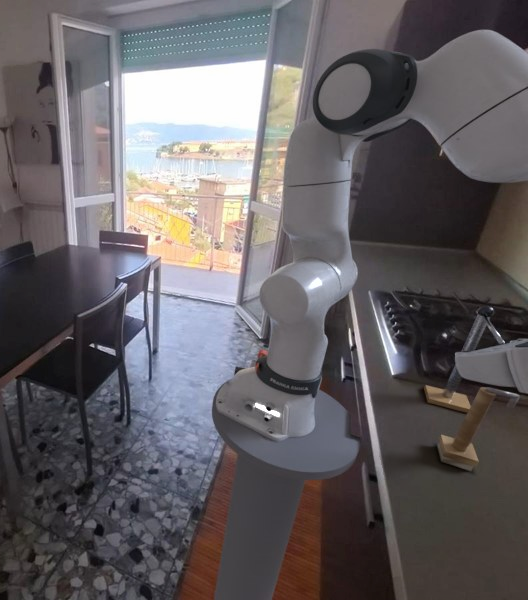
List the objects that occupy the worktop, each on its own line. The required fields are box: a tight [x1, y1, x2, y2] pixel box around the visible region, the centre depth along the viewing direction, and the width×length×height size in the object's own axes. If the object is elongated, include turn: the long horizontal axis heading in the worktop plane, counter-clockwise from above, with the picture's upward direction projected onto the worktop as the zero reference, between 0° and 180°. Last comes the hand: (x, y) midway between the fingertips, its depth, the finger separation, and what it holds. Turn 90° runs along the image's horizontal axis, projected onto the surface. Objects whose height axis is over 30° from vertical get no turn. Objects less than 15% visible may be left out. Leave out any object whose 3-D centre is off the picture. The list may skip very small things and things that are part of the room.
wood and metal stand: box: [423, 305, 506, 414], centre depth 78 cm, size 8×15×26 cm, turn 149°
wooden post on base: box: [436, 386, 521, 472], centre depth 68 cm, size 7×5×18 cm
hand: (487, 350), depth 62 cm, fingers open, 8 cm apart
